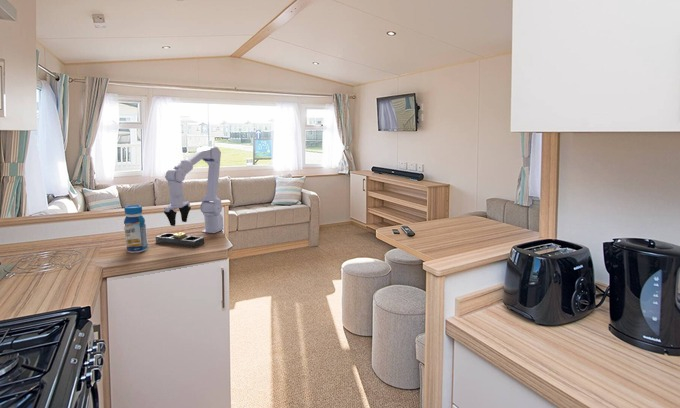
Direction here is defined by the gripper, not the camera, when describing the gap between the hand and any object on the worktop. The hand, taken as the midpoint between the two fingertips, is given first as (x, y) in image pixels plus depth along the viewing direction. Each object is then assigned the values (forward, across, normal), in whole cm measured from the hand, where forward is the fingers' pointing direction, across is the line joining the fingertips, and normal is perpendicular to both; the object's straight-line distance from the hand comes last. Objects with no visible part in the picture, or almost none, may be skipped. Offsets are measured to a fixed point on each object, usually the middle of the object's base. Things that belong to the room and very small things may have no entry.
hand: (178, 223), depth 182 cm
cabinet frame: (+9, 0, 0) cm, 9 cm away
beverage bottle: (+10, +15, -10) cm, 21 cm away
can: (+10, +9, -15) cm, 20 cm away
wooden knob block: (+9, 0, 0) cm, 9 cm away
